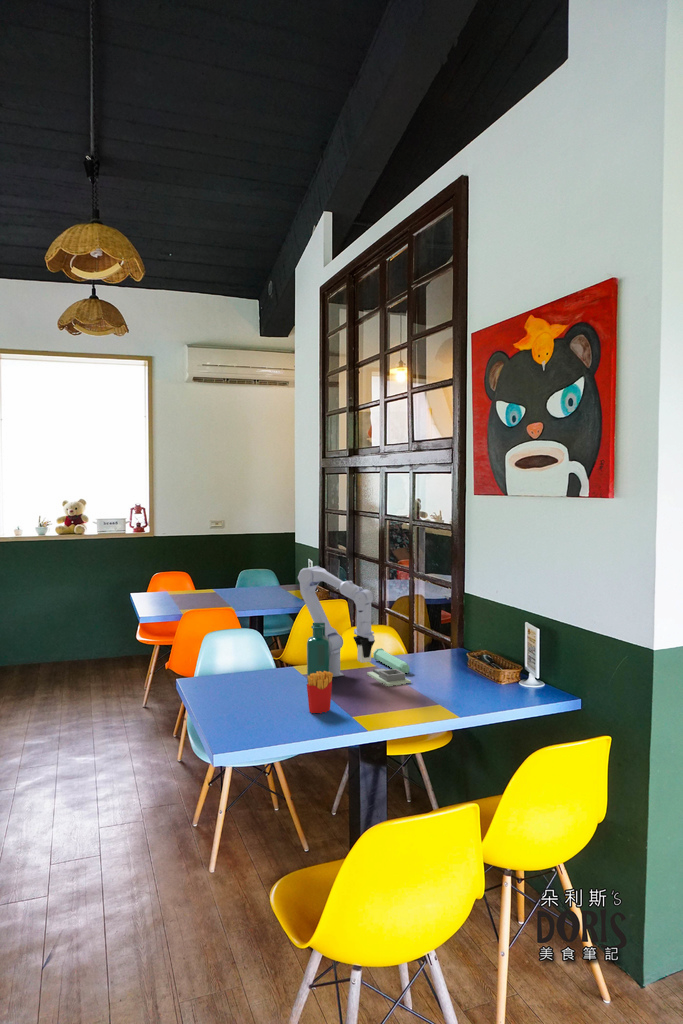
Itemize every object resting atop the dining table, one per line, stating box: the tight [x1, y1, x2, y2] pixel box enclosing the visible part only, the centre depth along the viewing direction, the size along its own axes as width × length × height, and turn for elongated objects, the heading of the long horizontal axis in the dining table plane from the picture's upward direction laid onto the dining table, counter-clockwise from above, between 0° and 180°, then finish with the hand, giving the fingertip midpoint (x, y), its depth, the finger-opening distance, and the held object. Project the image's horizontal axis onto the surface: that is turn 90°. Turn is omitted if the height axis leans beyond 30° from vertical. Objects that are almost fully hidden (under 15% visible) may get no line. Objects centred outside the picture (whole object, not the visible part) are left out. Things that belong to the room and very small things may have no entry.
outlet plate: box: [366, 667, 412, 687], centre depth 267 cm, size 10×18×3 cm, turn 23°
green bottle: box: [306, 622, 330, 684], centre depth 264 cm, size 10×8×22 cm
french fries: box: [306, 671, 334, 714], centre depth 229 cm, size 9×4×13 cm, turn 122°
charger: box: [357, 645, 372, 663], centre depth 266 cm, size 4×4×6 cm
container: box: [372, 648, 410, 674], centre depth 284 cm, size 6×6×25 cm
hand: (364, 656), depth 266 cm, fingers closed on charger, 4 cm apart
